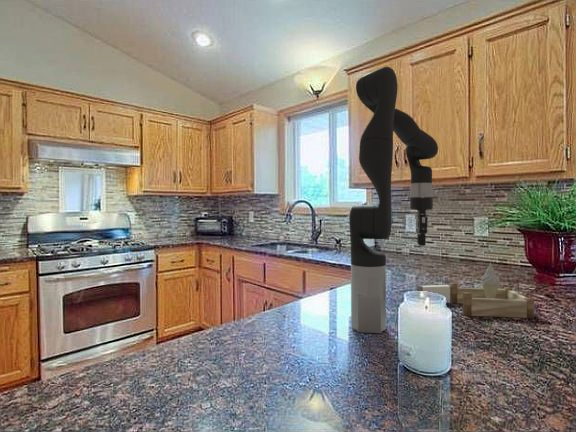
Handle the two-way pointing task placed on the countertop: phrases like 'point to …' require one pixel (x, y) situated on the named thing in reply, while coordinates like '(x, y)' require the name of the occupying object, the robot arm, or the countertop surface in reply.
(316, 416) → the countertop surface
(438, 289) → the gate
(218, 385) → the countertop surface
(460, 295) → the shallow wooden tray
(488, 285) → the ice cream cone
